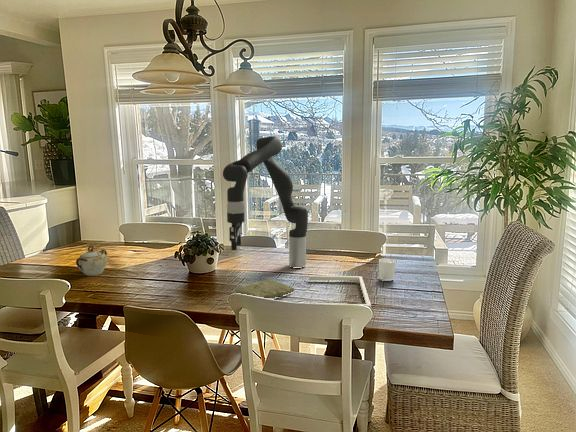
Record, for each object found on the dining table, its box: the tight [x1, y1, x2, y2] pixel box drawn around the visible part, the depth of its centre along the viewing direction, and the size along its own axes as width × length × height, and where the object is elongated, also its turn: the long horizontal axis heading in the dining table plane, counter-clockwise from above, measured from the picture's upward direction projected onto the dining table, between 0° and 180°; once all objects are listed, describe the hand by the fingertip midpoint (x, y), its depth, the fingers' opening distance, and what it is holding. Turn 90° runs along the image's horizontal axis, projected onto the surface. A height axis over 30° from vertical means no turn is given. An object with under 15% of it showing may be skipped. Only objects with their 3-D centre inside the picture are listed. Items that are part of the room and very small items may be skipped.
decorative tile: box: [235, 279, 295, 298], centre depth 185 cm, size 19×20×4 cm
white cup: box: [378, 257, 396, 280], centre depth 203 cm, size 8×8×10 cm
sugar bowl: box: [75, 245, 109, 277], centre depth 215 cm, size 20×15×15 cm
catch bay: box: [308, 274, 372, 309], centre depth 183 cm, size 37×26×3 cm
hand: (236, 247), depth 182 cm, fingers open, 8 cm apart
